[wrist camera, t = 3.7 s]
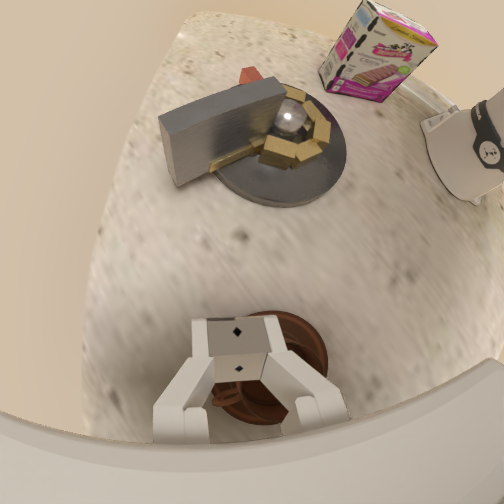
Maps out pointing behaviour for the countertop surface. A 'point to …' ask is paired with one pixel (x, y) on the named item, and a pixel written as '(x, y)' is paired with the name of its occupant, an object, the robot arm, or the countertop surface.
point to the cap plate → (290, 181)
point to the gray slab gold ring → (238, 130)
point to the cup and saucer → (255, 392)
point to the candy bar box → (375, 53)
